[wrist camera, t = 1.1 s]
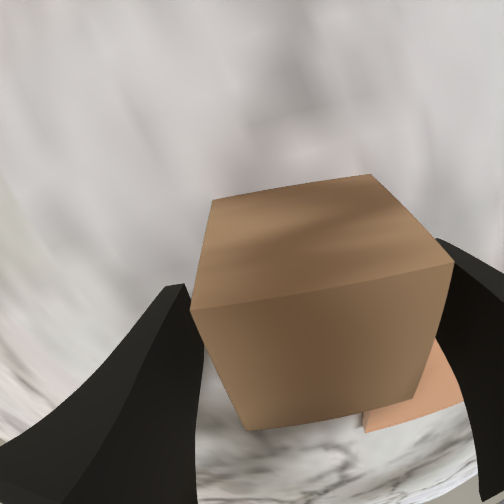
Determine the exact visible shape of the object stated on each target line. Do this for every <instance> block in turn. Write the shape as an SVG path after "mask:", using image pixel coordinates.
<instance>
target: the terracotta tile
mask: <svg viewBox="0 0 504 504" xmlns="http://www.w3.org/2000/svg"><path fill="white" fill-rule="evenodd" d="M463 401H464V399H463V396H462V393H461V390H460V387H459V384H458V382H457V380H456V377H455V375H454V373H453V371H452V369H451V367H450V365H449V363H448V361H447V359H446V357H445V355H444V353H443V351H442V350H441V348H440V346H439V344H438V342H437V340H436V338H435V340H434V343H433V346H432V349H431V352H430V355H429V358H428V360H427V363H426V366H425V369H424V371H423V374H422V377H421V379H420V382H419V384H418V387H417V390H416V392H415V394H414V397H413V399H410V400H407V401H403V402H400V403H396V404H393V405H389V406H386V407H382V408H378V409H374V410H370V411H366V412H364V413H363V418H362V424H363V428H364V432H365V433H368V432H372V431H376V430H379V429H383V428H387V427H390V426H394V425H397V424H401V423H404V422H407V421H410V420H413V419H417V418H420V417H423V416H426V415H428V414H431V413H434V412H437V411H440V410H442V409H445V408H448V407H450V406H453V405H455V404H458V403H460V402H463Z"/></svg>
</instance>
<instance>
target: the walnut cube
mask: <svg viewBox="0 0 504 504" xmlns="http://www.w3.org/2000/svg"><path fill="white" fill-rule="evenodd" d="M454 262H455V261H454V260H453V259H452V258H451V257H450V256H449V254H448V253H447V252H446V251H445V250H444V249H443V248H442V246H441V245H440V244H439V243H438V242H437V241H436V240H435V239H434V237H433V236H432V235H431V234H430V233H429V232H428V231H427V230H426V229H425V228H424V227H423V225H422V224H421V223H420V222H419V221H418V220H417V219H416V218H415V217H414V216H413V215H412V214H411V213H410V212H409V211H408V210H407V209H406V208H405V207H404V206H403V205H402V204H401V203H400V202H399V201H398V200H397V199H396V198H395V197H394V196H393V195H392V194H391V193H390V192H389V191H388V190H387V189H386V188H385V187H384V186H383V185H382V184H381V183H380V182H379V181H378V180H376V179H375V178H374V177H373V176H372V175H371V174H367V175H359V176H352V177H345V178H338V179H331V180H324V181H318V182H311V183H305V184H299V185H292V186H286V187H281V188H275V189H269V190H263V191H258V192H252V193H247V194H241V195H236V196H231V197H226V198H221V199H216V200H213V201H212V205H211V210H210V214H209V219H208V223H207V228H206V232H205V237H204V241H203V246H202V251H201V256H200V260H199V265H198V270H197V275H196V280H195V285H194V290H193V295H192V301H191V306H190V312H191V315H192V317H193V320H194V322H195V324H196V326H197V329H198V331H199V333H200V336H201V338H202V340H203V342H204V345H205V347H206V349H207V351H208V354H209V356H210V358H211V360H212V362H213V364H214V367H215V369H216V371H217V373H218V375H219V377H220V379H221V381H222V383H223V386H224V388H225V390H226V392H227V394H228V396H229V398H230V400H231V402H232V404H233V406H234V408H235V410H236V412H237V414H238V416H239V418H240V420H241V422H242V424H243V426H244V428H245V429H246V431H252V430H262V429H271V428H279V427H287V426H294V425H300V424H307V423H313V422H319V421H324V420H329V419H334V418H339V417H344V416H349V415H353V414H358V413H362V412H366V411H370V410H374V409H378V408H382V407H386V406H389V405H393V404H396V403H400V402H403V401H407V400H410V399H413V397H414V394H415V392H416V390H417V387H418V384H419V382H420V379H421V377H422V374H423V371H424V369H425V366H426V363H427V360H428V358H429V355H430V352H431V349H432V346H433V343H434V340H435V336H436V333H437V330H438V327H439V323H440V320H441V316H442V313H443V309H444V305H445V301H446V298H447V294H448V289H449V285H450V281H451V277H452V272H453V267H454Z"/></svg>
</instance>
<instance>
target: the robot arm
mask: <svg viewBox="0 0 504 504" xmlns="http://www.w3.org/2000/svg"><path fill="white" fill-rule="evenodd" d="M435 240H436V241H437V242H438V243H439V244H440V245H441V246H442V248H443V249H444V250H445V251H446V252H447V253H448V254H449V256H450V257H451V258H452V259H453V260H454V261H455V262H454V267H453V272H452V277H451V281H450V285H449V289H448V294H447V298H446V301H445V305H444V309H443V313H442V316H441V320H440V323H439V327H438V330H437V333H436V336H435V338H436V340H437V342H438V344H439V346H440V348H441V350H442V351H443V353H444V355H445V357H446V359H447V361H448V363H449V365H450V367H451V369H452V371H453V373H454V375H455V377H456V380H457V382H458V384H459V387H460V390H461V393H462V396H463V399H464V403H465V406H466V409H467V413H468V417H469V421H470V425H471V429H472V433H473V438H474V444H475V450H476V456H477V465H478V477H479V493H480V497H481V500H482V502H484V501H486V500H488V499H490V498H491V497H493V496H495V495H497V494H498V493H500V492H502V491H504V274H503V273H502V272H500V271H498V270H496V269H495V268H493V267H491V266H489V265H488V264H486V263H484V262H482V261H481V260H479V259H477V258H475V257H474V256H472V255H470V254H468V253H467V252H465V251H463V250H461V249H459V248H458V247H456V246H454V245H452V244H450V243H448V242H446V241H444V240H441V239H439V238H436V239H435ZM190 306H191V299H190V297H189V294H188V292H187V289H186V286H185V284H184V283H183V284H177V285H171V286H165V287H164V288H163V290H162V291H161V292H160V293H159V294H158V296H157V297H156V298H155V299H154V301H153V302H152V303H151V305H150V306H149V307H148V308H147V310H146V311H145V312H144V314H143V315H142V316H141V317H140V319H139V320H138V321H137V323H136V324H135V325H134V326H133V328H132V329H131V330H130V332H129V333H128V334H127V335H126V337H125V338H124V339H123V340H122V341H121V342H120V344H119V345H118V346H117V347H116V348H115V350H114V351H113V352H112V353H111V354H110V356H109V357H108V358H107V359H106V360H105V361H104V363H103V364H102V365H101V366H100V367H99V368H98V369H97V370H96V371H95V372H94V373H93V374H92V375H91V376H90V377H89V378H88V379H87V380H86V381H85V382H84V383H83V384H82V385H81V386H80V387H79V388H78V389H77V390H76V391H75V392H74V393H73V394H72V395H71V396H69V397H68V398H67V399H66V400H65V401H64V402H63V403H61V404H60V405H59V406H58V407H57V408H56V409H55V410H53V411H52V412H51V413H50V414H48V415H47V416H46V417H44V418H43V419H42V420H40V421H39V422H38V423H36V424H35V425H34V426H32V427H31V428H29V429H28V430H26V431H25V432H23V433H22V434H20V435H19V436H17V437H15V438H14V439H12V440H10V441H9V442H7V443H5V444H4V445H2V446H0V502H1V503H3V504H198V501H197V490H196V470H195V429H196V418H197V410H198V402H199V394H200V387H201V379H202V371H203V363H204V342H203V340H202V338H201V336H200V333H199V331H198V329H197V326H196V324H195V322H194V320H193V317H192V315H191V312H190ZM497 504H504V500H502V501H501V502H499V503H497Z"/></svg>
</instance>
